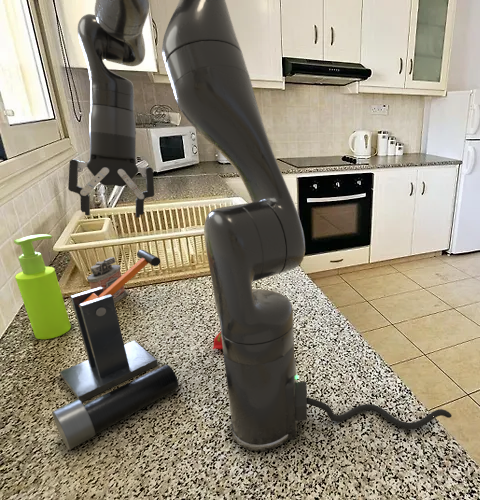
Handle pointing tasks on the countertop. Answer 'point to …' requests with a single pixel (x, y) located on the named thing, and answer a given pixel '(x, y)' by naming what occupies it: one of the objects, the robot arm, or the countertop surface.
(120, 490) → the countertop surface
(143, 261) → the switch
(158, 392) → the flashlight
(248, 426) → the robot arm
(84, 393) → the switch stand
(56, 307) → the soap dispenser
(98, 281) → the lighter
